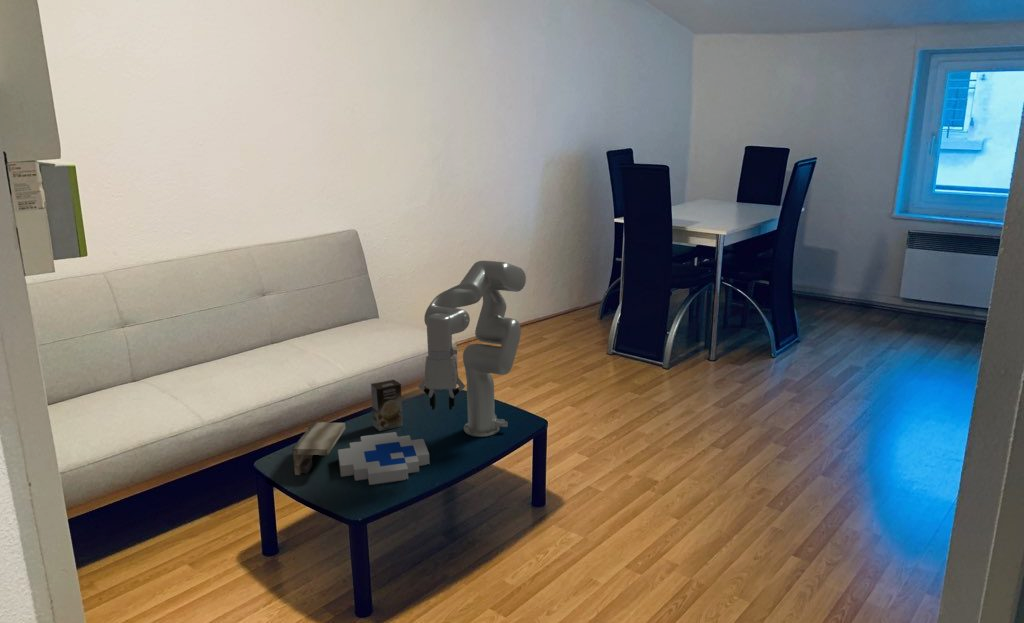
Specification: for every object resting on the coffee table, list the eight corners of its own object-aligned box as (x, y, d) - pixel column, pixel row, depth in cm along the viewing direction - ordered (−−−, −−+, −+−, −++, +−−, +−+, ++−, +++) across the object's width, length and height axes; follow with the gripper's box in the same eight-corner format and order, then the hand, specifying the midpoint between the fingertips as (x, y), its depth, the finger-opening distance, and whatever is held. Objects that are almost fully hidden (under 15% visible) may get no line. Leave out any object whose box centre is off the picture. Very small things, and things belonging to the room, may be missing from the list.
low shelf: (347, 447, 265) (345, 422, 263) (329, 475, 246) (327, 449, 244) (315, 446, 266) (312, 422, 264) (295, 474, 247) (292, 448, 245)
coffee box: (379, 431, 277) (376, 389, 273) (372, 425, 282) (369, 383, 278) (403, 426, 282) (401, 384, 277) (396, 419, 287) (394, 378, 282)
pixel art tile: (419, 429, 270) (433, 465, 244) (419, 439, 271) (434, 476, 245) (336, 439, 263) (341, 477, 237) (337, 450, 264) (342, 489, 238)
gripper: (469, 349, 246) (470, 403, 251) (415, 349, 247) (418, 403, 252) (465, 357, 239) (467, 413, 244) (410, 357, 240) (413, 412, 245)
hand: (442, 407), depth 248 cm, fingers open, 4 cm apart
